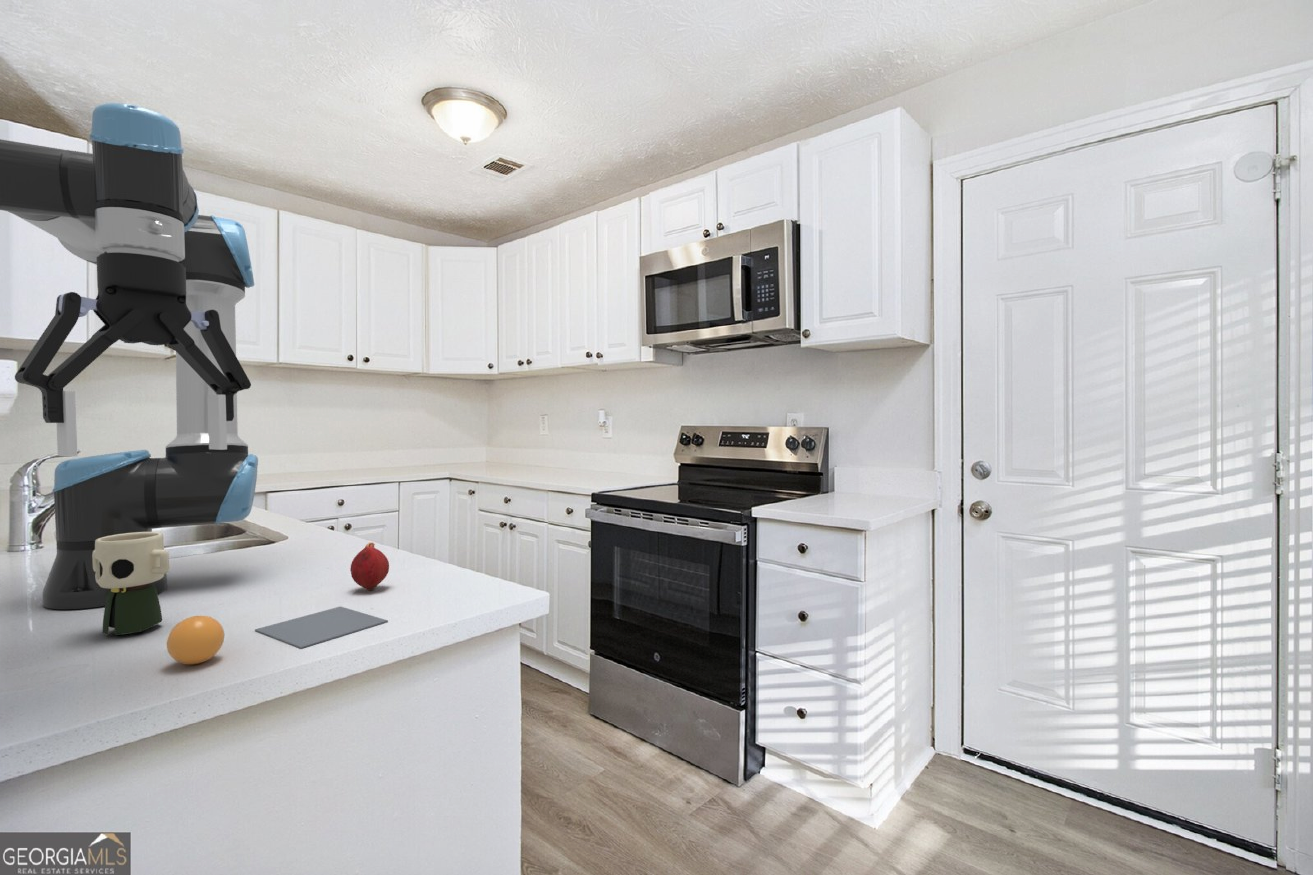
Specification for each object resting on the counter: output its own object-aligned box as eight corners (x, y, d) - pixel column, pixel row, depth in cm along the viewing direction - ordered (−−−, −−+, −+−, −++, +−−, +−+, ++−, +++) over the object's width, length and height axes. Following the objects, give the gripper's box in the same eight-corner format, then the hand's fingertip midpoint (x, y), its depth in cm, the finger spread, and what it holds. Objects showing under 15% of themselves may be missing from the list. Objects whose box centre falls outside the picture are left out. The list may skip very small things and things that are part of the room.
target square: (254, 630, 85) (254, 629, 85) (340, 607, 95) (340, 606, 95) (301, 648, 78) (301, 647, 78) (387, 621, 88) (387, 620, 88)
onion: (374, 596, 101) (373, 547, 101) (343, 594, 102) (341, 545, 102) (396, 586, 107) (395, 539, 106) (366, 584, 108) (365, 538, 107)
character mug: (70, 639, 82) (66, 541, 81) (121, 621, 89) (118, 530, 89) (146, 641, 81) (142, 542, 80) (192, 623, 88) (189, 531, 88)
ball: (159, 665, 73) (157, 619, 73) (213, 650, 78) (211, 606, 78) (179, 676, 70) (177, 627, 70) (233, 659, 75) (232, 614, 75)
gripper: (-11, 222, 55) (-1, 461, 56) (279, 275, 77) (283, 447, 78) (-35, 235, 59) (-25, 458, 60) (247, 282, 81) (252, 446, 81)
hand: (149, 452), depth 69 cm, fingers open, 13 cm apart
